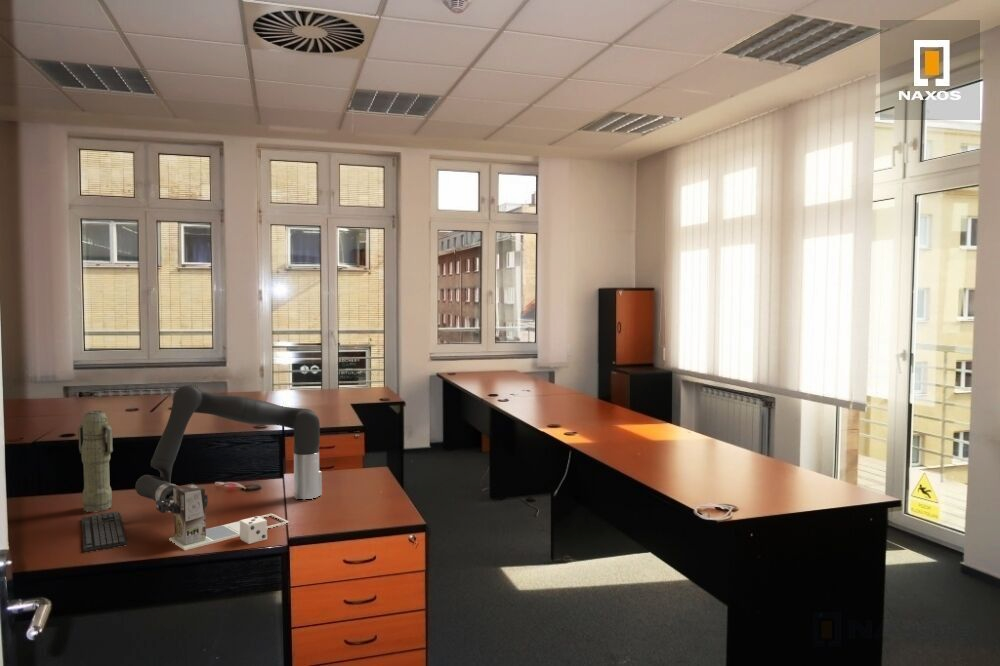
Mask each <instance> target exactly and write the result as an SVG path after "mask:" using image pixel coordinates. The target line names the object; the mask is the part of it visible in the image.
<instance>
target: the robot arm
mask: <svg viewBox="0 0 1000 666" xmlns="http://www.w3.org/2000/svg"><path fill="white" fill-rule="evenodd" d="M173 393H174V394H173V396H172V405H171V410H170V414H169V416H168V421H167V422H166V423H167V424H166V426H165V428H164V430H163V431H162V434H161V437H160V439H159V441H158V443H157V446H156V448H155V451H154V454H153V455H152V458H151V461H150V467H151V468H153V469H155V470H157V471H158V472H159V473H160V474H159V475H160V476H155V475H151V474H144V475H142V476H140V477H139V478H138V479H137V480H136V482H135V486H134V487H135V488H134V489H135V491H136V494H138V495H139V496H141V497H143V498H146V499H150V500H153V501H155V506H156V509H155V510H156V511H158V512H159V513H161V514H165V513H166V512H168V513H172V514H174V513H175V514H178V506H176V505H174V493H173V488H174V487H180V486H179V485H176V484H174V483H171V481H172V479H171V478H172V474H173V473H172V472H173V467H174V464H175V461H176V458H177V456H178V452H179V450H180V447H181V445H182V441H183V438H184V434H185V431H186V429H187V426H188V424H189V422H190V420H191V418H192V416H193V414H194V413H197V414H204V415H205V414H206V415H213V416H217V417H219V418H222V419H225V420H230V421H234V422H237V423H243V424H249V425H254V426H257V425H258V426H280V427H285V428H289V429H292V430H293V433H294V434H293V436H294V438H293V439H294V440H293V441H294V443H293V484H294V485H293V490H294V491H293V494H294V499H295V498H296V499H295V500H297V499H312V500H314V499H313V498H316V497H318V496H320V495H322V496H323V486H322V485H323V483H322V482H323V480H322V478H323V477H322V475H323V474H322V471H321V470H320V444H321V443H320V442H321V439H320V438H321V436H320V434H321V429H320V428H321V425H320V423H321V422H320V419H319V417H318V414H316V412H315V411H314V410H311V409H309V408H299V407H292V406H291V407H290V406H283V405H280V404H279V405H278V404H275V403H271V402H268V401H265V400H260V399H256V398H251V397H248V396H247V397H246V396H238V395H220V394H214V393H210V392H206V391H203V390H199V389H198V388H197V387H196V386H194V385H191V384H190V385H189V384H187V385H182V386H180V387H178V388H177V389H176V390H175V391H174V392H173ZM320 497H321V496H320ZM318 498H319V497H318ZM316 499H317V498H316ZM208 504H209V497H208V495H207V494H205V509H206V508H207V507H208Z"/></svg>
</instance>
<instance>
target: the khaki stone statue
mask: <svg viewBox="0 0 1000 666" xmlns="http://www.w3.org/2000/svg"><path fill="white" fill-rule="evenodd" d="M108 423H109V422H108V417H107V415H106V412H104V411H102V410H90V411H87V412H86V413H84V415H83V419H82V424H80V426H79V427H78V430H77V431H78V451H79V454H81V462H82V464H83V490H82V504H83V512H84V511H88V512H94V511H102V512H104V511H103V510H106V509H109V508H111V506H113V505H112V501H113V494H112V493H113V492H112V487H111V485H110V481H111V480H110V461H111V454H112V453H113V452H114V447H113V439H114V437H113V434H114V433H113V428H112V426H111V424H108ZM111 509H112V508H111ZM109 510H110V509H109ZM106 511H107V510H106Z"/></svg>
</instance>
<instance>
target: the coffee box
mask: <svg viewBox="0 0 1000 666" xmlns="http://www.w3.org/2000/svg"><path fill="white" fill-rule="evenodd" d="M173 493H174V505H176V506H178V514H175V513H173V517H174V537H175V538H176V539H178V540H179V541H181V542H183V543H184V544H191V543H195V542H199V541H203V540H206V529H207V527H206V525H207V524H206V508H205V495H206V487H205V488H204V487H202V486H200V485H198V484H195V483H189V484H188V483H187V484H185V485H181V486H179V487H174V488H173Z"/></svg>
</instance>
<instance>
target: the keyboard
mask: <svg viewBox="0 0 1000 666" xmlns="http://www.w3.org/2000/svg"><path fill="white" fill-rule="evenodd" d="M81 529H82V530H81V533H82V532H83V533H82V543H83V544H82V545H83V553H84V552H88V553H91V552H90V551H94V552H97V551H96V550H99V551H104V550H103V549H105V550H109V549H108V548H111V549H114V548H113V547H117V548H119V547H118V546H123V547H125V546H124V545H127V546H128V541H127V538H126V533H125V530H124V525H123V521H122V516H121V512H118V511H112V512H111V511H110V512H108V511H107V512H100V513H96V514H95V513H93V514H91V516H85V517H84V516H83V517H81Z"/></svg>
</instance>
